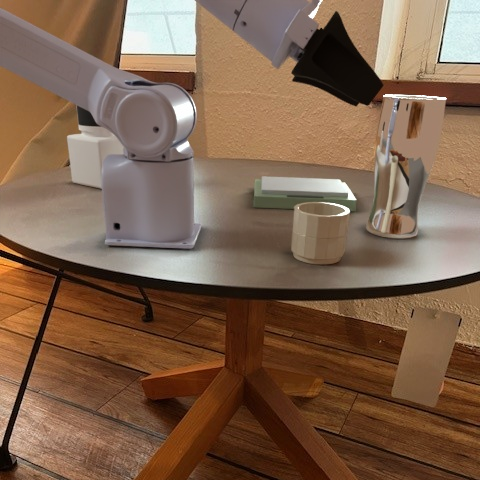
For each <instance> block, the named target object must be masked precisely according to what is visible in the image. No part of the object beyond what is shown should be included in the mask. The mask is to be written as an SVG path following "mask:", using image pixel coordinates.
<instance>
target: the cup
mask: <svg viewBox="0 0 480 480" xmlns="http://www.w3.org/2000/svg"><path fill="white" fill-rule="evenodd" d="M350 215H351V211H349V209H348V208H346V207H344V206H341V205H337V204H333V203H325V202H306V203H301V204H297V205H296V206H294V209H293V215H292V229H291V241H290V251H291V253H292V256H293V258H295V259H296V260H297V261H300V262H302V263H305V264H306V263H307V264H312V265H333V264H335V263H339V262H340V261H341V260H342V257H343V256H344V255H345V252H346V245H347V238H348V231H349V230H348V229H349V223H350Z"/></svg>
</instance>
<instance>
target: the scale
mask: <svg viewBox="0 0 480 480" xmlns="http://www.w3.org/2000/svg"><path fill="white" fill-rule="evenodd" d="M253 190H254V191H253V208H257V209H259V208H260V209H281V210H282V209H283V210H294V206H296V205H297V204H301V203H306V202H325V203H333V204H337V205H341V206H344V207H346V208H348V209H349V211H350V212H356V210H357V203H358V200H357V198H356V196H354V194H353V192H352V191H351V189H350V188H349V186H348V185H347V184H346V182H342V181H341V179H340V178H339V179H338V178H317V177H316V178H314V177H311V178H310V177H291V176H290V177H289V176H263V175H262V176H261V179H257V178H255V180H254V189H253Z"/></svg>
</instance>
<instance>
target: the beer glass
mask: <svg viewBox="0 0 480 480" xmlns="http://www.w3.org/2000/svg"><path fill="white" fill-rule="evenodd" d="M446 102H447V98H446V97H439V96H429V95H428V96H427V95H410V94H409V95H408V94H385V95H383V99H382V104H381V107H380V113H379V116H378V121H377V127H376V132H375V139H374V150H373V169H374V170H373V174H374V175H373V177H374V181H373V182H374V190H373V191H374V195H373V202H372V206H371V210H370V213H369V216H368V219H367V222H366V225H365V229H366V230H367V232H369V233H370V234H372V235H375V236H378V237H381V238H387V239H397V240H399V239H400V240H401V239H402V240H403V239H404V240H405V239H412V238H414V237H416V236H417V235H418V234H419V233H418V232H419V210H420V204H421V200H422V196H423V194H424V191H425V187H426V185H427V183H428V180H429V178H430V175H431V173H432V172H431V171H432V170H433V167H434V164H435V161H436V159H437V155H438V152H439V147H440V143H441V138H442V134H443V133H442V132H443V127H444V119H445V109H446Z"/></svg>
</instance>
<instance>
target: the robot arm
mask: <svg viewBox="0 0 480 480" xmlns="http://www.w3.org/2000/svg"><path fill="white" fill-rule="evenodd" d="M194 1H195V2H196V3H197V4H199V6H201V7H202V8H203V9H205V10H206V11H207V12H208V13H210V14H211V15H212V16H213V17H215V18H216V19H217V20H219V21H220V22H221V23H222V24H223V25H225V26H226V27H227V28H228V29H230V30H231V31H232V32H233V33H235V34H236V35H237V36H238V37H240V38H241V39H242V40H243V41H245V42H246V43H247V44H249V46H251V47H252V48H253V49H255V50H256V51H257V52H258V53H260V54H261V55H262V56H264V57H265V58H266V59H267V60H268V61H270V62H271V66H272V67H274V68H275V69H276V70H280V68H281V67H282V66H283V65H284V64H285V63H286V62H287V60H289V58H291V60H294V62H296V64H295V65H294V66H293V69H292V70H291V75H293V78H292V80H291V82H293V83H298V84H304V85H308V86H310V87H314V88H316V89H319V90H321V91H324V92H326V93H328V94H329V95H331V96H333V97H335V98H337V99H338V100H341V101H342V102H344V103H346V104H349V105H350V106H353V107H358V105H359V104H361V105H364V106H366V107H368V106H370V104H371V103H372V102H373V101H374V99H375V98H376V97H377V95H378V93H379V92H380V91H381V90H382V89H383V87H384V85H385V84H384V82H383V81H382V79H381V78H380V77H379V76H378V74H377V73H376V71H375V70H374V69H373V68H372V66H371V65H370V64H369V63H368V61H367V60H366V59H365V58H364V57H363V55H362V54H361V52H360V51H359V50H358V48H357V47H356V45H355V44H354V42H353V41H352V38H351V37H350V35H349V33H348V32H347V28H346V27H345V25H344V22H343V19H342V17H341V15H340V13H339V11H338V10H336V11H335V10H334V11H335V12H334V13H332V15H331V17H330V18H329V20H328V22H327V23H326V25H324V27H320V24H319V23H318V22H317V21H316V20H315V19H314V18H315V16H316V14H317V12H318V9H319V6H320V5H321V3H322V2H323V0H311V1H309V0H194ZM319 27H320V28H319ZM0 67H1V68H3V69H5V70H7V71H9V72H10V73H13V74H15V75H17V76H18V77H21V78H23V79H25V80H27V81H28V82H30V83H33V84H35V85H36V86H38V87H40V88H43V89H44V90H47V91H48V92H50V93H53V94H54V95H56V96H58V97H60V98H62V99H64V100H66V101H68V102H69V103H72V104H73V105H76V106H77V105H78V106H80V107H82V108H83V109H85V110H87V111H89V112H90V113H91V114H92V116H93V118H94V120H95V122H96V123H97V124H98V125H100V126H102V127H104V128H105V129H107V130H109V131H110V132H111V133H113V134H114V135H115V136H116V137H117V139H118V140H119V141H120V143H121V144H122V145H123V146H124V148H123V151H124V154H110V155H107V156H106V157H105V159H104V161H103V165H102V175H101V185H102V189H101V195H102V207H103V216H104V227H105V237H106V238H105V240H104V245H107V246H118V247H119V246H121V247H143V248H167V249H194V247H195V245H196V242H197V240H198V238H199V234H200V232H201V230H202V224H201V223H199V222H196V223H195V180H194V179H195V176H194V175H195V173H194V172H195V171H194V169H195V168H194V167H195V165H194V163H195V162H194V161H195V160H194V149H193V148H192V147H191V145H190V143H189V140H188V139H189V138H190V136H192V134H193V132H194V130H195V128H196V125H197V118H198V116H197V114H198V113H197V108H196V105H195V104H196V103H195V102H194V100H193V97H192V96H191V95H190V93H189V92H187V90H186V89H184V87H182V86H180V85H178V84H176V83H173V82H172V83H171V82H154V81H150V80H149V79H146V78H145V77H142V76H140V75H137V74H135V73H132V72H128V71H126V70H123V69H120V68H117V67H115V66H113V65H111V64H109V63H107V62H105V61H104V60H102V59H100V58H98V57H96V56H95V55H92V54H90V53H88V52H86V51H85V50H82V49H80V48H78V47H77V46H75V45H73V44H71V43H69V42H67V41H65V40H63V39H61V38H59V37H58V36H56V35H53V34H52V33H50V32H48V31H46V30H44V29H42V28H40V27H38V26H37V25H34V24H33V23H30V22H29V21H27V20H25V19H23V18H21V17H19V16H17V15H15V14H13V13H11V12H9V11H8V10H5V9H4V8H2V7H0Z"/></svg>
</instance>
